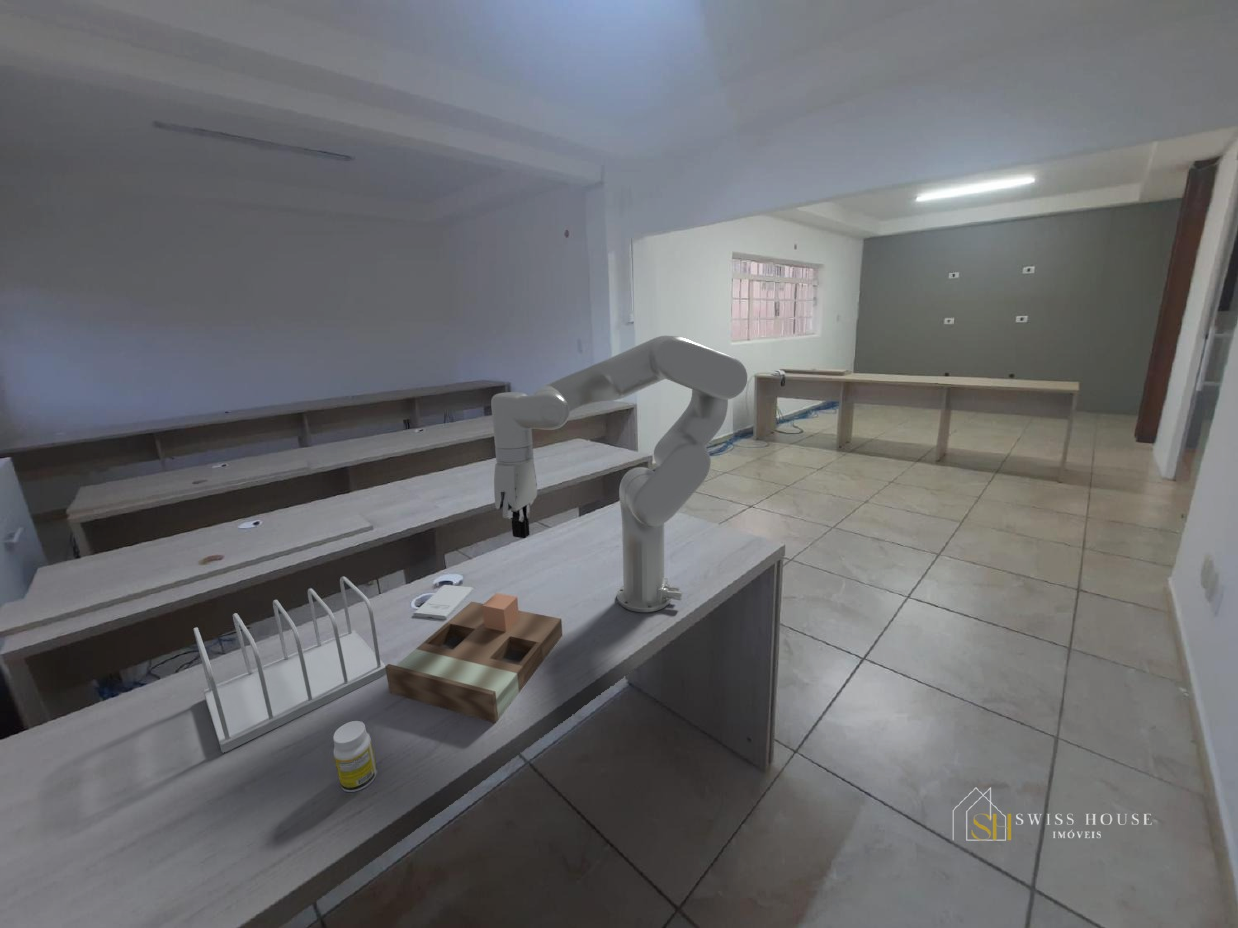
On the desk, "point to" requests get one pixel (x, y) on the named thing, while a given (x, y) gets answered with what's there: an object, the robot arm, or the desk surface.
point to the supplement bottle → (354, 756)
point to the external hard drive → (444, 602)
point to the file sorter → (289, 677)
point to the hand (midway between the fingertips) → (521, 535)
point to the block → (500, 612)
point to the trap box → (475, 663)
